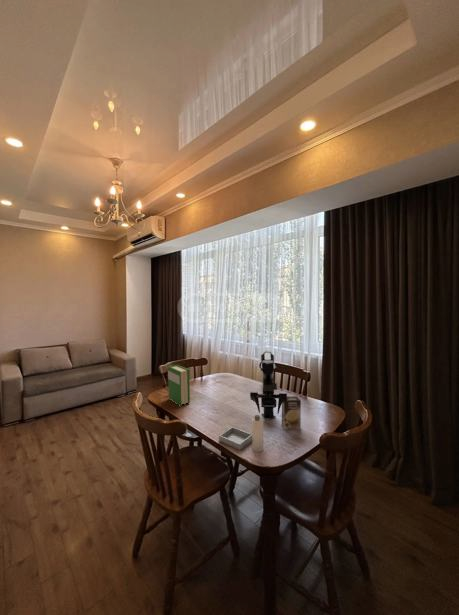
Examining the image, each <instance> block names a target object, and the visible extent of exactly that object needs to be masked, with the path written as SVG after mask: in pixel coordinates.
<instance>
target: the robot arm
mask: <svg viewBox="0 0 459 615" xmlns="http://www.w3.org/2000/svg"><path fill="white" fill-rule="evenodd" d="M260 362H261V363H260V371H261V373H262V393H259V392H258V391H250V394H249V398H250V400H251V401H252V402H254V403H255V404H256V407H257V410H258V413H259V414H260V413H261V409H260V406H261V408H263V413H261V416H262V417H263V419H264V418H265V420H270V419H275V418H277V416H276V415H275V414H274V409H275V408H276V407H277V415H279V413H280V410H281V408H282V403H284V401H287V396H288V394H287V392H286V391H285V392H284V391H283V392H282V391H281V392H280V391H279V392H278V394H276V393H275V391H277V390H278V383H277V382H274V372H276V371H277V365H276V364H275V363H274V362H275V355H274V354H273V353H272V351H263V353H262V354H260ZM259 399H261V400H259ZM277 399H278V401H277ZM260 402H261V405H260ZM277 402H278V404H277Z"/></svg>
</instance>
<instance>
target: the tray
mask: <svg viewBox="0 0 459 615" xmlns="http://www.w3.org/2000/svg"><path fill="white" fill-rule="evenodd" d="M219 442H220V443H221V444H224V445H226V446H229V447H231V448H233V449H235V450H237V451H240V452H241V451H242V450H243V449H244V448H245V447H246V446H247V445H249V444H250V443H252V433H250V432H249V431H248V432H247V431H244V430H242V429H241V428H237V427H235V426H231V427H229V428H228V429H227V430H226V431H224V432H223V433H221V434H219V435H218V443H219Z"/></svg>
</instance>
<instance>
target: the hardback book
mask: <svg viewBox="0 0 459 615" xmlns="http://www.w3.org/2000/svg"><path fill="white" fill-rule="evenodd" d="M167 372H168V373H167V381H168V382H167V384H168V399H169V398H170V399H172V400H173V401H174V402H176V403H177V404H178V405H180V406H181V407H182V406H183V405H182V404H184V405H187V404H186V403H190V404H191V399H190V398H191V395H190V394H191V393H190V369H189V368H186V367H184V366H181V365H179V364H173V365H169V366H167ZM178 405H177V406H178Z"/></svg>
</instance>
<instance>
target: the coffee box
mask: <svg viewBox="0 0 459 615" xmlns="http://www.w3.org/2000/svg"><path fill="white" fill-rule="evenodd" d="M301 402H302V401H301V399H300V397H298V396H295V395H294V396H288V395H287V401H284V403H282V404H281V426H282V427H283V430H301V429H302V427H301V426H302V425H301V423H302V422H301V420H302V419H301V418H302V417H301V416H302V415H301V413H302V412H301V410H302V409H301V408H302V407H301V405H302V403H301Z"/></svg>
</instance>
